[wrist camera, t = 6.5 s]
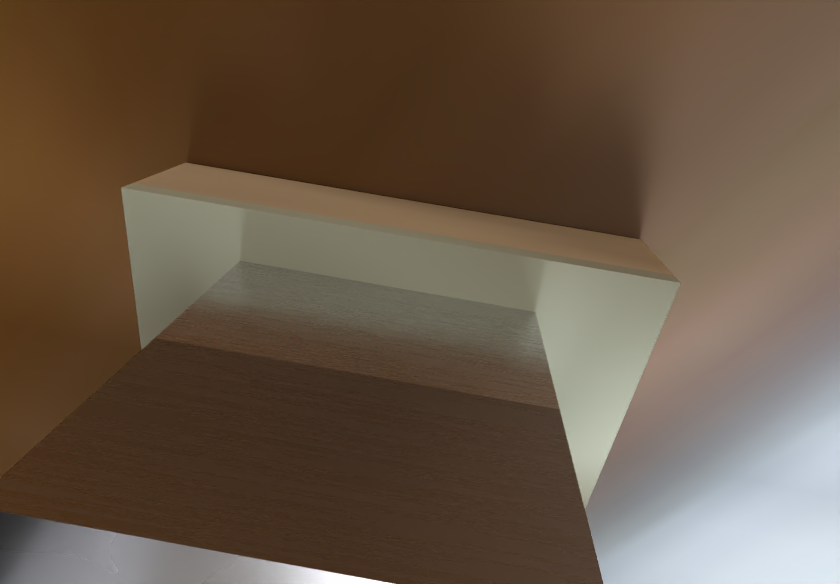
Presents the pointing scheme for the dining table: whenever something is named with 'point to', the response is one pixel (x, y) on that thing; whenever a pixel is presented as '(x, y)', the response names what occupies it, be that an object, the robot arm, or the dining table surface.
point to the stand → (415, 273)
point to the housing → (310, 449)
